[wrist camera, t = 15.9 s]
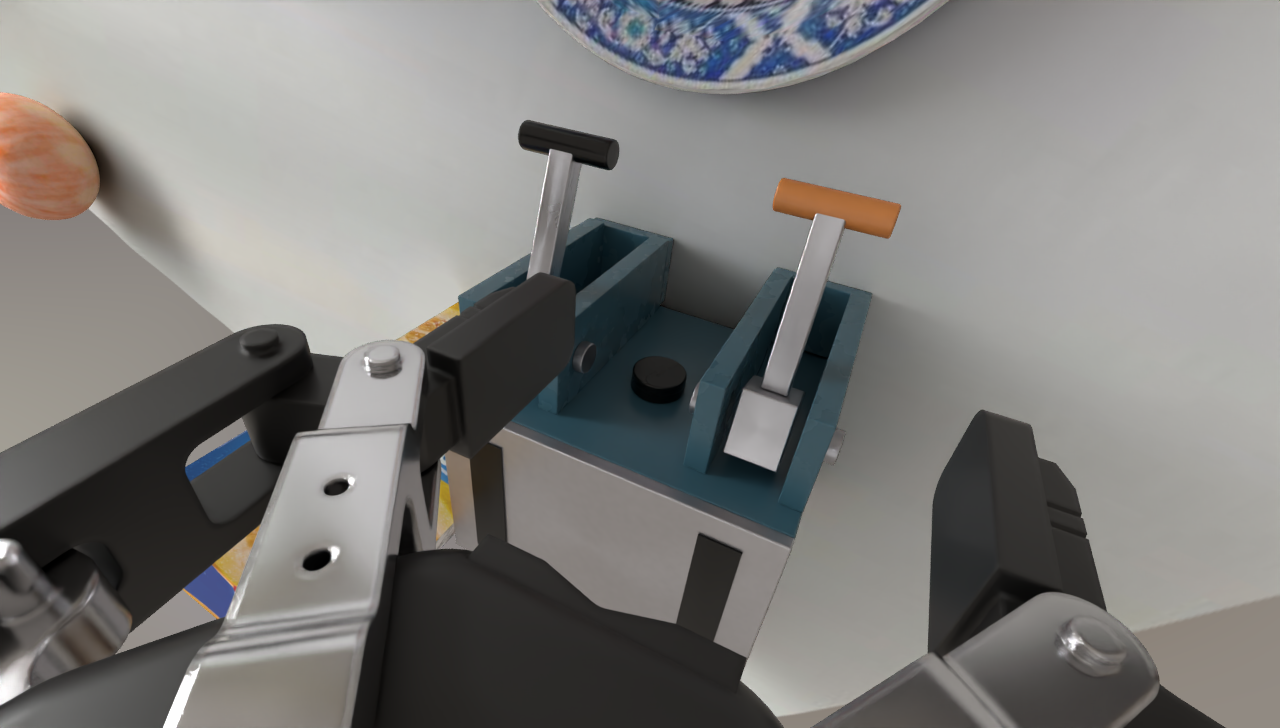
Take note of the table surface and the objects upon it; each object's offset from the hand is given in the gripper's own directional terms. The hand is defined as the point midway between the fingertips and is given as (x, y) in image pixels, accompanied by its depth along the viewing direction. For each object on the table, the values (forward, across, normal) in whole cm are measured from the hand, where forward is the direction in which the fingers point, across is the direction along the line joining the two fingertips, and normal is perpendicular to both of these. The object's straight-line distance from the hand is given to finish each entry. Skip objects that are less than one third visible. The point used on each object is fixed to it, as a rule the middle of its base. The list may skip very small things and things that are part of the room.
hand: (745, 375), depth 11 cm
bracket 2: (+20, 0, +8) cm, 21 cm away
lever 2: (+11, 0, +5) cm, 12 cm away
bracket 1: (+20, +11, +8) cm, 24 cm away
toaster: (+19, +6, +15) cm, 25 cm away
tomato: (+20, +68, +13) cm, 72 cm away
